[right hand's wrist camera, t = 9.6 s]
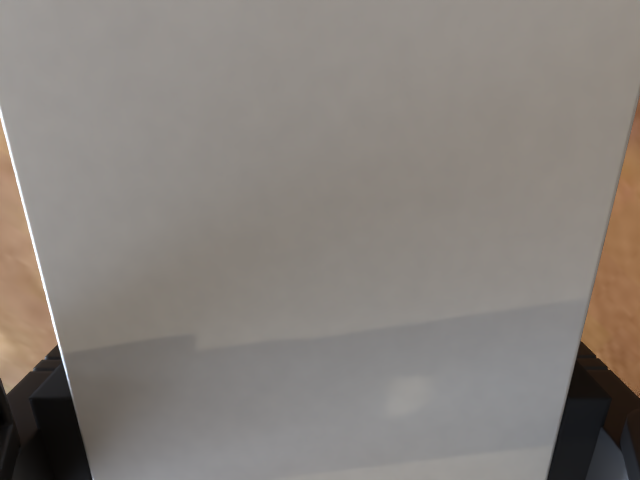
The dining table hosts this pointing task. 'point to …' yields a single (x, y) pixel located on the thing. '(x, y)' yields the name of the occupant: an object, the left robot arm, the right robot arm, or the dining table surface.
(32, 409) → the right robot arm
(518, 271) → the thick board
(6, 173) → the dining table surface
